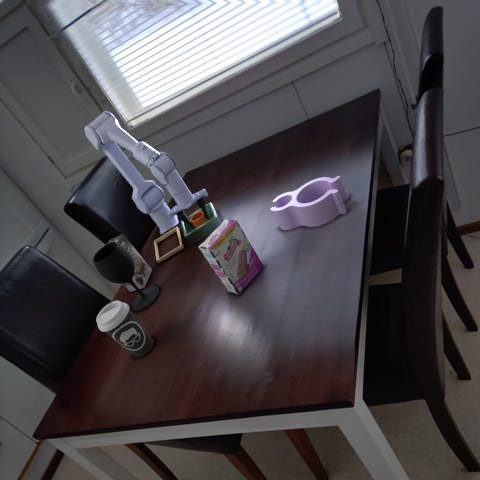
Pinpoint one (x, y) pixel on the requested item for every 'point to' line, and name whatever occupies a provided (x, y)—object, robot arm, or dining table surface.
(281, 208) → the clip
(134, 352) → the coffee cup
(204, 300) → the dining table surface
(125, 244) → the coffee box
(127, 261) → the wine glass
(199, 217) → the bowl
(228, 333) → the dining table surface
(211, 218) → the basin
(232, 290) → the candy bar box
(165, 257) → the tray
